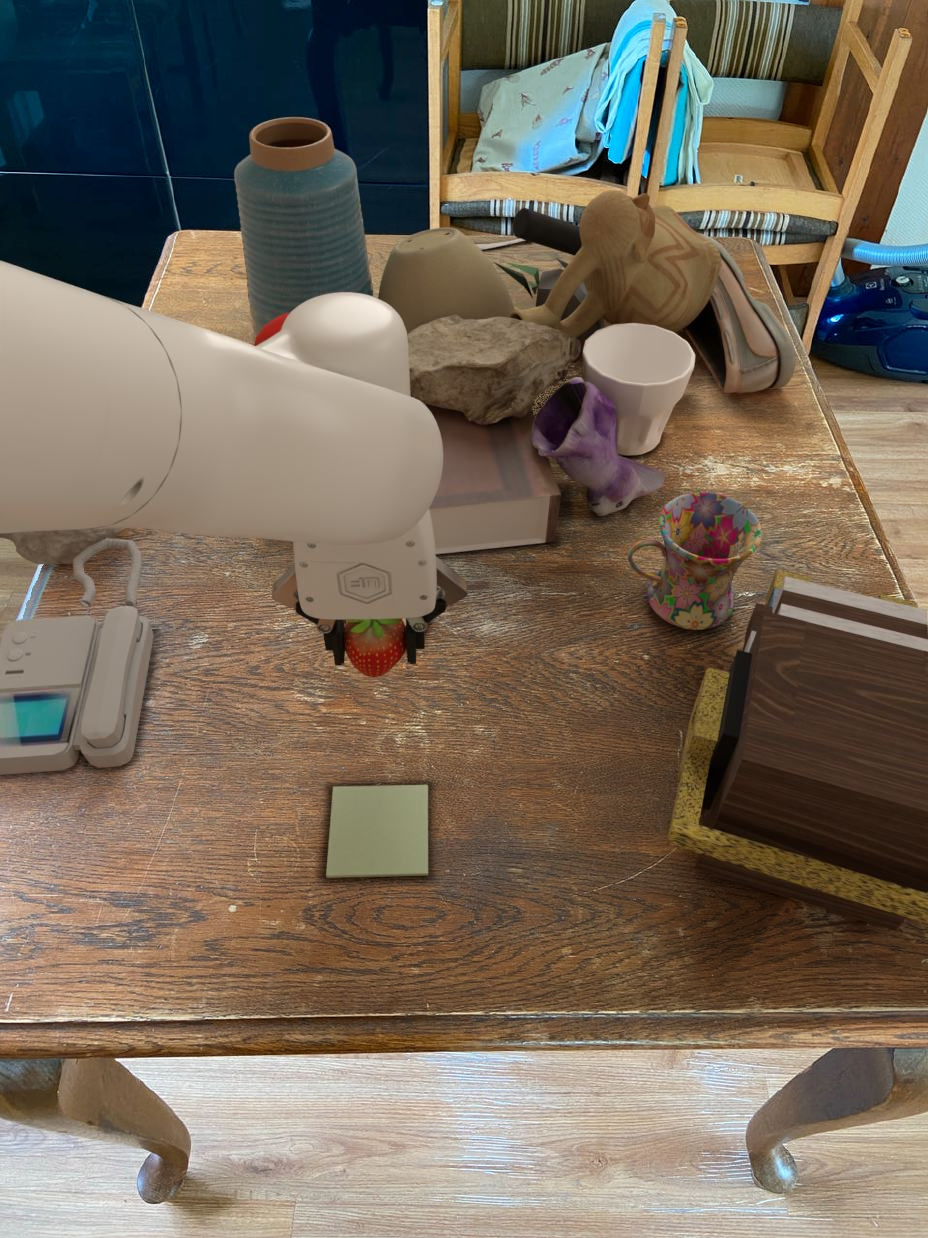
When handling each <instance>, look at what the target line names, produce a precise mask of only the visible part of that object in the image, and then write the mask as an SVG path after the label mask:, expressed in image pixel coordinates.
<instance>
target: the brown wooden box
mask: <svg viewBox="0 0 928 1238" xmlns="http://www.w3.org/2000/svg"><path fill="white" fill-rule="evenodd" d="M812 579H813V578H812V577H811V576H805V575H802V574H798V573H792V572H789V571H785V570H781V569H777V568H776V570H775V573H774V575H773V577H772V580H771V583H770V585H769V588H768V590H767V593H766V597H765V604H762V603H758V602H756V603H755V605H754V608H753V611H752V614H751V617H750V619H749V622H748V624H747V627H746V631H745V636H744V642H743V648H742V650H741V649H737V650H736V651H735V654H734V657H733V660H732V662H731V665H730V668H729V671H724V670H720V669H716V668H713V667H709V666H707V667H706V670H705V672H704V676H703V679H702V682H701V684H700V687H699V690H698V693H697V696H696V699H695V702H694V705H693V707H692V711H691V714H690V716H689V722H688V727H687V732H686V736H685V740H684V746H683V750H682V754H681V759H680V765H679V769H678V775H677V779H676V784H678V785H677V790H676V795H675V800H674V805H673V810H672V815H671V820H670V824H669V829H668V834H667V839H666V844H667V845H671V846H673V847H677V848H680V849H682V850H687V851H690V852H693V853H696V854H697V855H696V861H695V866H694V869H695V870H697V871H700V872H703V873H707V874H710V875H713V876H717V877H720V878H723V879H726V880H729V881H733V882H737V883H739V884H743V885H746V886H748V887H752V888H756V889H759V890H762V891H766V892H768V893H772V894H775V895H778V896H780V897H784V898H787V899H791V900H794V901H797V902H801V903H804V904H807V905H810V906H814V907H817V908H820V909H823V910H826V911H830V912H833V913H836V914H840V915H843V916H846V917H849V918H852V919H854V920H857V921H862V922H864V923H867V924H871V925H874V926H878V927H880V928H884V929H887V930H890V931H893V932H896V931H897V929H899V927H900V926H901V925H902V923H904V921H905V920H906V919H910V920H914V921H918V922H921V923H925V924H926V925H927V924H928V609H924V608H919V607H918V602H915V601H910V600H906V599H902V598H898V597H894V596H890V595H885V594H881V593H880V595H879V596H878V597H873V596H869V595H866V594H861V593H857V592H852V591H848V590H845V589H840V588H835V587H832V586H828V585H823V584H819V583H815V582H812ZM702 809H704V815H703V821H702V825H701V824H700V819H701V814H702Z"/></svg>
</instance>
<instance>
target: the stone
mask: <svg viewBox="0 0 928 1238" xmlns="http://www.w3.org/2000/svg"><path fill="white" fill-rule="evenodd" d="M125 529H126V528H105V529H75V530H53V531H32V532H14V533H0V539H5V540H8V541H11V542H12V543H13V545H14V546H15V552H16V553H17V554H18V555H19V556H20V557H22V558H23V559H24V560H26V561H28V562H31V563H33V564H36V565H61V564H62V565H68V564H73V559H74V558H75V557H76V556H77V555H78V554H80V553H81V552H82V551H83V550H84V549H85V548H86V547H88V546H90V545H92V544H94V543H97V542H99V541H101V540H103V539H105V538H113V539H116V537H117V536H118V535H119V534H120V533H122V532H123V531H124V530H125Z"/></svg>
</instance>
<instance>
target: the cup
mask: <svg viewBox="0 0 928 1238" xmlns="http://www.w3.org/2000/svg"><path fill="white" fill-rule="evenodd" d="M582 354H583V359H582V370H583V371H582V372H583V374H582V375H583V380H584V382H590V383H592V384H593V385H594V386H595V387H596V388H597V389H598V390H599V391H601V392H602V393H603V394H605V395H606V396H608V397H609V398H610V399H611V400H612V402H613V403H614V405H615V408H616V413H617V416H616V430H617V454H618V455H619V456H639V455H643V454H646V453H649V452H651V451H653V450H654V449H655V448H656V447H657V446H658V445H659V444H660V443H661V440H662V439H661V438H662V435H663V433H664V430H665V428H666V425H667V423H668V421H669V419H670V416H671V415H672V412H673V410H674V408H675V405H676V404H677V403H678V402H679V401H680V400H681V399H682V398H683V396H684V393H685V391H686V389H687V386H688V384H689V381H690V379H691V376H692V374H693V371H694V369H695V363H696V354H695V351H694V350H693V348H692V347H691V345H690V343H689V342H688V341H687V340H686V339H684V338H682V337H681V336H680V335H678V334H677V333H676V332H675V333H674V332H672V331H669V330H666V329H663V328H660V327H658V326H655V325H647V324H639V323H627V324H614V325H611V324H610V325H608V326H606V327H604V328H603V329H600V330H597V331H596V332H595V333H594V334H593V335H591V336H590V337H589V338H588V339H587V340H586V341H585V344H584V348H583V352H582Z"/></svg>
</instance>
